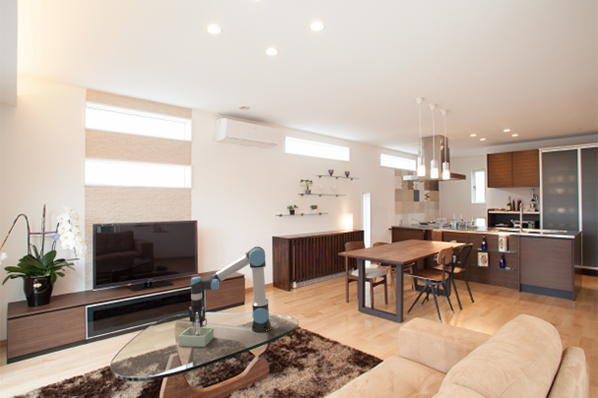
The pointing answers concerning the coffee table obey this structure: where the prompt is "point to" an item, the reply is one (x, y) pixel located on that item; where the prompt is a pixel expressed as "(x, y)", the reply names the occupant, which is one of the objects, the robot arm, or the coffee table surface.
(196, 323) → the peg
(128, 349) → the coffee table surface
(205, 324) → the mug
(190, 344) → the box
